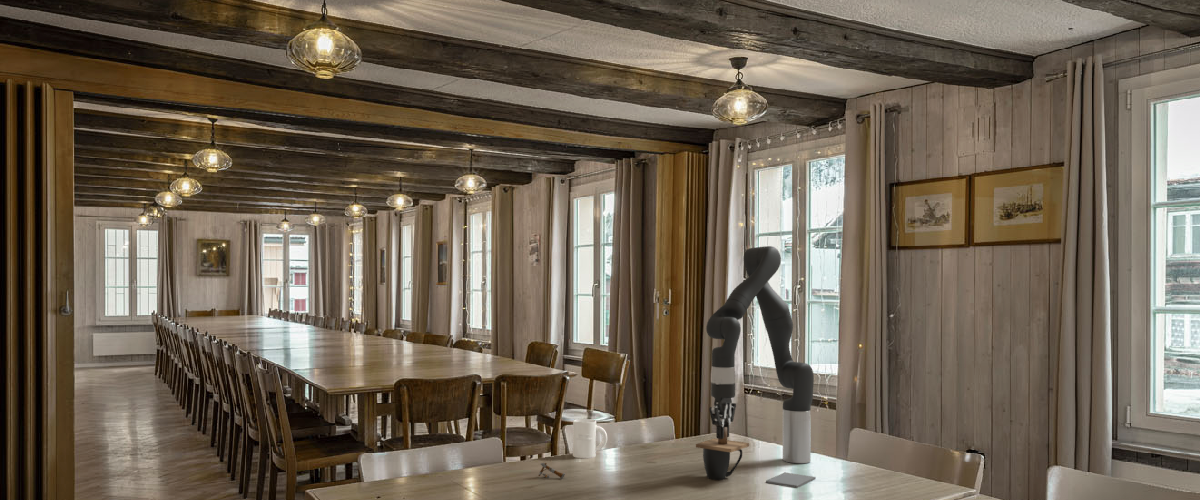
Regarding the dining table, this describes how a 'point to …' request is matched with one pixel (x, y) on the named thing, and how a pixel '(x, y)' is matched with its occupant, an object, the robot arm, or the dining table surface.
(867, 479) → the dining table surface
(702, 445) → the lid
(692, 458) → the dining table surface
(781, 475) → the mat
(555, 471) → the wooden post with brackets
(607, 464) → the dining table surface
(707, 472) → the mug
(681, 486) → the dining table surface
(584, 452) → the mug
